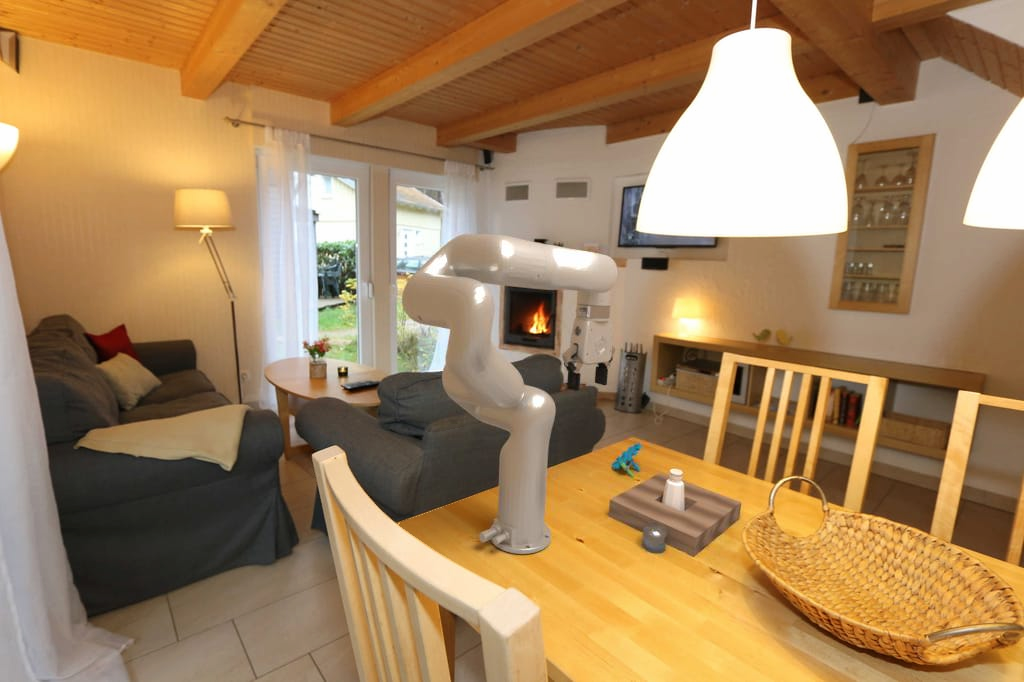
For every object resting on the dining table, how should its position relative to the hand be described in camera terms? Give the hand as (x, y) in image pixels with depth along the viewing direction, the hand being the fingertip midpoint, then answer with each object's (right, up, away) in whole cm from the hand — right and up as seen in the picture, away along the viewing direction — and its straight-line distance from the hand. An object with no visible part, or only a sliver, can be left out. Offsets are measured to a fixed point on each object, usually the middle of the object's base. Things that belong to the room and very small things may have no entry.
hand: (587, 386), depth 115 cm
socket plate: (+19, -29, -3) cm, 35 cm away
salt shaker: (+19, -29, -2) cm, 35 cm away
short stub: (+11, -31, -14) cm, 36 cm away
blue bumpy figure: (+14, -25, +22) cm, 36 cm away
